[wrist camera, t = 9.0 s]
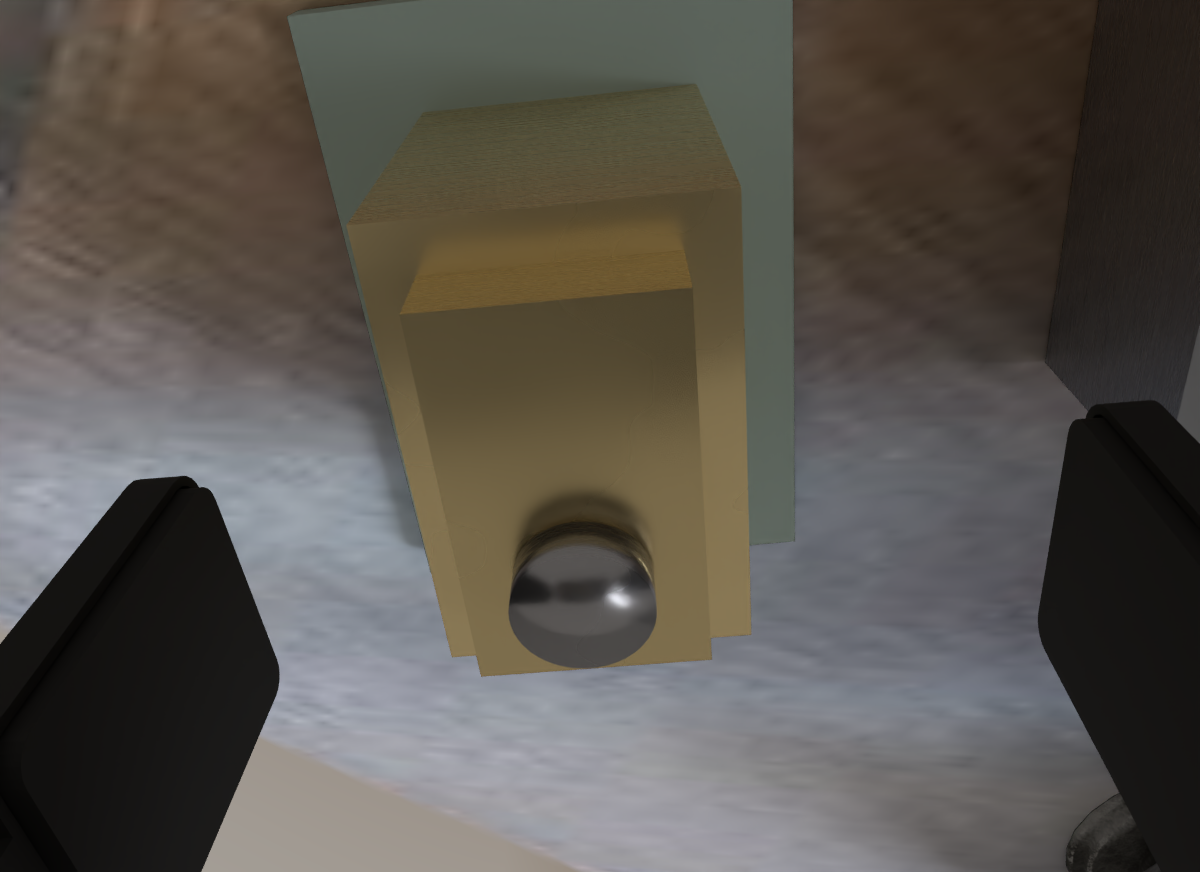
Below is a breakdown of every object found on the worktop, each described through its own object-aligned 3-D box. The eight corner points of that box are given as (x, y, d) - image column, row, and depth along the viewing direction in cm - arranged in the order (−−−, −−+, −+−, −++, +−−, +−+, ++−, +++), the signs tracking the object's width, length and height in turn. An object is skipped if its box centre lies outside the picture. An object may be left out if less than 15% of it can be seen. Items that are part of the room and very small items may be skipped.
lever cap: (697, 84, 14) (765, 242, 8) (712, 437, 17) (770, 729, 11) (423, 112, 14) (305, 286, 8) (488, 456, 17) (434, 752, 11)
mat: (784, -49, 13) (792, -45, 13) (789, 522, 19) (794, 541, 18) (298, 10, 14) (286, 16, 13) (435, 553, 19) (430, 573, 18)
